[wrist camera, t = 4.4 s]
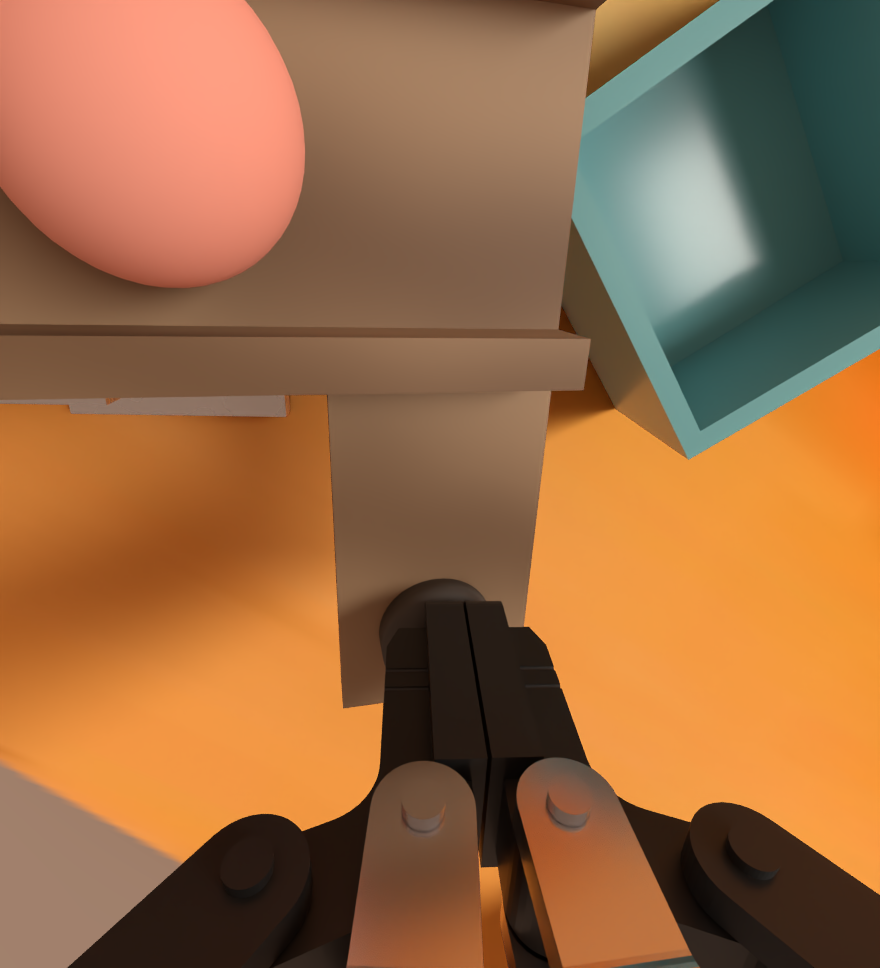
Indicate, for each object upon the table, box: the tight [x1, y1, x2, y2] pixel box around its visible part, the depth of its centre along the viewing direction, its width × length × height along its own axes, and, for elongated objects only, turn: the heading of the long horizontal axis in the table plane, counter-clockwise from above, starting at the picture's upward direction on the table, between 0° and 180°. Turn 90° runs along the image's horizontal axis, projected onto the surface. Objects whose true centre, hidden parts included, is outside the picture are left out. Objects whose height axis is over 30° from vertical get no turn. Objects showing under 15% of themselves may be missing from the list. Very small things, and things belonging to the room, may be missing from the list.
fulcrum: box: [0, 395, 290, 417], centre depth 10 cm, size 11×6×8 cm, turn 178°
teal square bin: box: [561, 0, 880, 460], centre depth 12 cm, size 8×8×5 cm
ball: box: [0, 0, 305, 288], centre depth 6 cm, size 3×3×3 cm
